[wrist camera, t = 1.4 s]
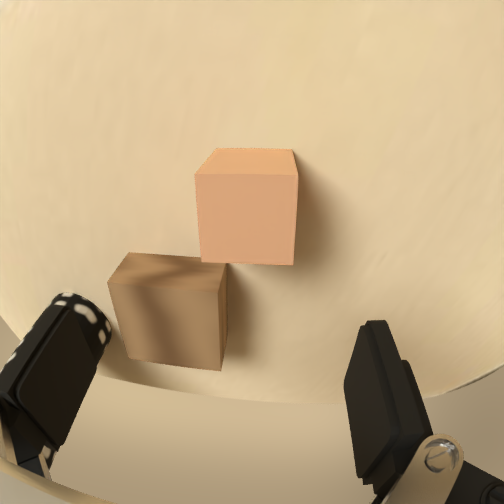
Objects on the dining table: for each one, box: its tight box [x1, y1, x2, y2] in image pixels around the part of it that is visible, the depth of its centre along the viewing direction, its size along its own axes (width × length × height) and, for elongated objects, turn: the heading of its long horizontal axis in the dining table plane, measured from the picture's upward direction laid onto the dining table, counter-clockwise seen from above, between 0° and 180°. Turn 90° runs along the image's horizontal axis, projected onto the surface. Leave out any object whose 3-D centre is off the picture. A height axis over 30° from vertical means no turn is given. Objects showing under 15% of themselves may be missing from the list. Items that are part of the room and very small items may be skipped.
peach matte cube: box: [195, 148, 298, 265], centre depth 21 cm, size 6×6×7 cm
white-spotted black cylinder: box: [0, 293, 112, 470], centre depth 24 cm, size 8×8×20 cm
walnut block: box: [107, 252, 227, 371], centre depth 28 cm, size 9×9×5 cm
